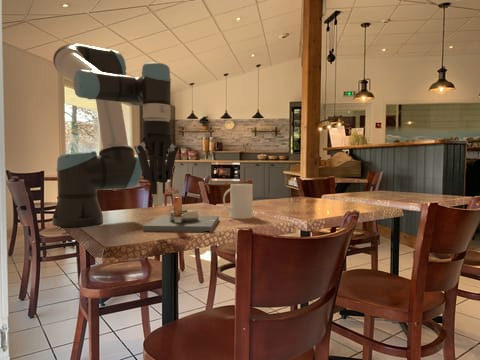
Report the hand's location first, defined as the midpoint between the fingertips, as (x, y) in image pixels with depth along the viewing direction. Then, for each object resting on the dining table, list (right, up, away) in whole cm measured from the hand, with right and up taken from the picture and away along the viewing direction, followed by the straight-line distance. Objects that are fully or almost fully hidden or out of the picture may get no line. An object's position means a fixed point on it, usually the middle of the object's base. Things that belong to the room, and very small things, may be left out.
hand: (158, 205), depth 103 cm
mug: (+22, -7, +30) cm, 38 cm away
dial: (+5, -5, +11) cm, 13 cm away
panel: (+5, -7, +14) cm, 17 cm away
